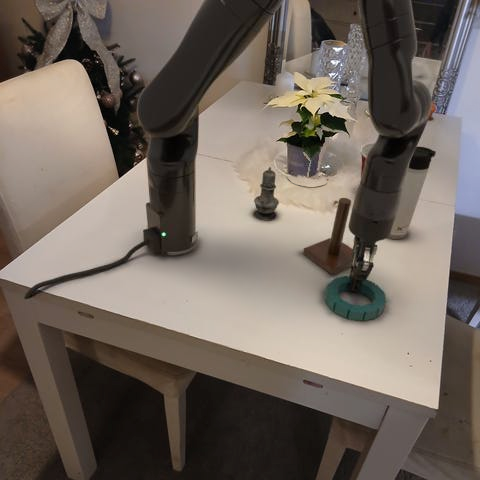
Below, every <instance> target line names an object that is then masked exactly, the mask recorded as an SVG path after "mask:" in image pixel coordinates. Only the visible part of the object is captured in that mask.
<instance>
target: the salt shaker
mask: <svg viewBox="0 0 480 480" xmlns="http://www.w3.org/2000/svg"><path fill="white" fill-rule="evenodd" d="M276 176H277V175H276V172H275V171H274V170H272V167H271V166H269V167H268V169H266V170H264V171H263V173H262V182H261V184H260V185H259V186H260V188H261V189H260V195H258V196H256V197H255V198H254V200H253V203H254V205H255V209H256V210H255V211H254V212H253V214H254V217H255V218H256V219H258V220H261V221H272V220H274V219H276V217H277V213H276V212H275V211H276V209H277V208H278V205H279V204H280V201H279V199H278V198H277V197H275V189H277V186H276V184H275V183H276Z"/></svg>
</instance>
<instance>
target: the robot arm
mask: <svg viewBox="0 0 480 480" xmlns="http://www.w3.org/2000/svg"><path fill="white" fill-rule="evenodd" d="M284 1H285V0H203V1H202V2H201V5H200V7H199V9H198V10H197V12H196V14H195V15H194V17H193V19H192V20H191V23H190V24H189V26H188V27H187V30H186V31H185V34H184V36H183V38H182V40H181V42H180V43H179V45H178V46H177V48H176V49H175V51H174V53H173V54H172V55H171V57H170V58H169V59H168V61H166V63H165V64H164V65H163V67H162V68H161V69H159V71H158V73H157V74H156V75H155V76H154V77H153V78H152V80H150V82H149V83H148V84H147V85H146V86H145V87H144V88H143V89H142V90H141V91H140V94H139V96H138V98H137V104H136V115H137V120H138V123H139V125H140V127H141V128H142V129H143V131H144V133H146V134H147V135H148V136H149V143H148V147H147V150H146V156H145V157H146V169H147V170H146V171H147V172H146V173H147V186H148V197H149V199H148V200H149V202H146V203H145V211H146V225H147V228H144V229H143V230H142V234H143V241H141V242H140V243H138V244H136V245H135V246H133V247H132V248H130V249H129V250H128V252H127V253H126V254H125V255H124V256H123V257H122V258H120V259H118V260H116V261H114V262H111V263H108V264H104V265H101V266H96V267H93V268H90V269H85V270H82V271H78V272H72V273H68V274H64V275H61V276H57V277H54V278H51V279H47V280H44V281H41V282H37V283H36V284H34V285H33V286H32V287H30V289H29V290H27V292H26V294H25V295H24V297H23V299H24V300H28V299H30V298H31V297H32V295H34V293H36V292H37V291H38V290H40V289H41V288H44V287H47V286H50V285H51V286H52V285H54V284H57V283H60V282H63V281H66V280H70V279H76V278H79V277H84V276H88V275H92V274H95V273H98V272H102V271H106V270H109V269H112V268H115V267H118V266H120V265H122V264H123V263H125V262H127V261H128V260H129V259H130V258H131V257H132V255H133V254H135V253H136V252H137V251H139V250H140V249H142V248H143V247H145V246H147V247H148V248H149V249H150V250H151V251H152V252H153V253H156V252H157V253H158V254H159V255H160V256H161V257H166V256H182V255H186V254H189V253H191V252H192V251H193V250H194V249H195V248H196V247H197V238H198V237H199V231H198V230H197V229H196V228H197V203H196V202H197V200H196V199H197V198H196V197H197V196H196V195H197V192H196V190H197V189H196V187H197V186H196V185H197V184H196V183H197V181H196V180H197V179H196V178H197V177H196V176H197V175H196V174H197V172H196V169H197V168H196V162H197V154H198V150H199V131H200V130H199V126H200V103H201V102H202V100H203V99H204V97H205V95H206V94H207V92H208V91H209V90H210V88H211V87H212V85H213V84H214V83H215V82H216V81H217V80H218V78H219V77H220V76H221V75H222V74H223V73H224V72H225V71H226V70H227V69H229V67H230V66H231V65H233V63H234V62H236V60H237V59H238V58H240V56H241V55H242V54H243V53H244V52H245V50H247V48H248V47H249V46H250V45H251V44H252V43H253V42H254V41H255V39H256V38H257V37H258V36H259V35H260V34H261V32H262V31H263V30H264V29H265V27H266V26H267V25H268V23H270V21H271V20H272V18H274V17H273V16H275V14H276V12H278V10H279V9H280V7H281V5H283V2H284ZM356 2H357V10H358V18H359V25H360V30H361V35H362V41H363V45H364V46H363V47H364V50H365V55H366V59H367V104H368V105H367V106H368V113H369V117H370V121H371V125H372V126H373V128H374V130H375V131H376V132H377V133H378V136H377V139H376V141H374V142H375V144H374V145H373V146H372V148H371V149H370V150H369V152H368V154H367V157H366V160H365V165H364V169H363V173H362V177H361V176H360V180H359V184H358V186H357V188H356V192H355V196H354V200H353V204H352V208H351V213H350V217H349V222H348V230H349V231H350V233H351V234H352V235H353V236H354V238H353V245H352V258H353V259H352V261H351V265H352V267H350V272H349V275H348V277H349V276H351V280H350V284H349V290H348V291H350V292H355V293H359V291H360V289H361V285H362V282H363V280H365V281H366V280H368V278H369V277H370V274H371V272H372V270H373V268H374V266H375V264H374V262H373V260H374V256H375V255H376V254H377V250H378V244H377V242H380V241H384V240H386V239H388V236H389V235H390V233H391V230H392V226H393V223H394V220H395V217H396V213H397V210H398V207H399V204H400V200H401V194H402V189H403V185H404V182H405V179H406V175H407V172H408V168H409V164H410V160H411V158H412V155H413V153H414V151H415V149H416V147H418V145H419V143H420V141H421V139H422V136H423V133H424V131H425V130H426V127H427V125H428V121H429V115H430V112H431V106H432V103H433V101H432V100H433V99H432V94H431V91H430V89H429V88H428V86H427V85H426V84H425V83H424V82H422V81H420V80H416V79H413V66H412V65H413V61H414V59H415V57H416V55H417V51H418V39H417V37H418V36H417V33H416V32H417V31H416V25H415V17H414V11H413V4H412V0H357V1H356Z"/></svg>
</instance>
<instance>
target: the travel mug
mask: <svg viewBox="0 0 480 480" xmlns="http://www.w3.org/2000/svg"><path fill="white" fill-rule="evenodd" d="M436 152H437V151H435V150H433V149H431V148H429V147H425V146H417V147H416V149H415V151H414V153H413V155H412V158H411V160H410V164H409V168H408V172H407V175H406V179H405V182H404V185H403V189H402V194H401V200H400V204H399V207H398V210H397V213H396V217H395V220H394V223H393V226H392V230H391V233H390V235H389V236H388V237H387V239H392V240H401V239H404V238H405V237H406V236H407V235H408V232H409V229H410V225H411V223H412V220H413V217H414V213H415V211H416V207H417V205H418V202H419V199H420V196H421V193H422V190H423V187H424V183H425V181H426V178H427V175H428V172H429V170H430V169H429V168H430V165H431V162H432V158H434V157H435V156H436V154H437V153H436Z"/></svg>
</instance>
